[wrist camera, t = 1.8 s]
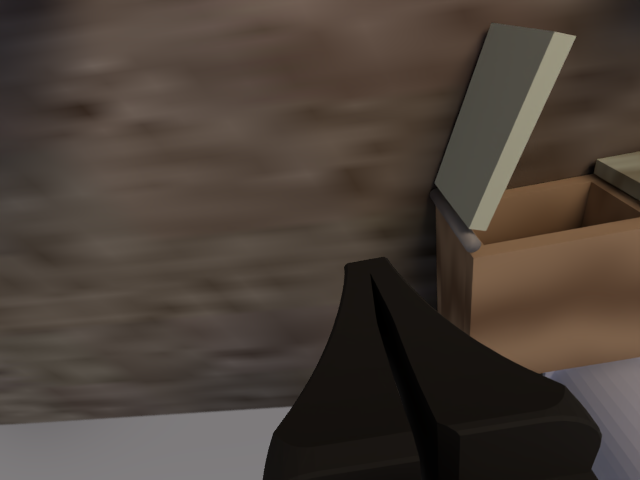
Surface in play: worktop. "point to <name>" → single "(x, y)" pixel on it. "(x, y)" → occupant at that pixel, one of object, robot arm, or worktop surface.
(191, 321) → the worktop surface
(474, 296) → the cabinet
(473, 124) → the door
